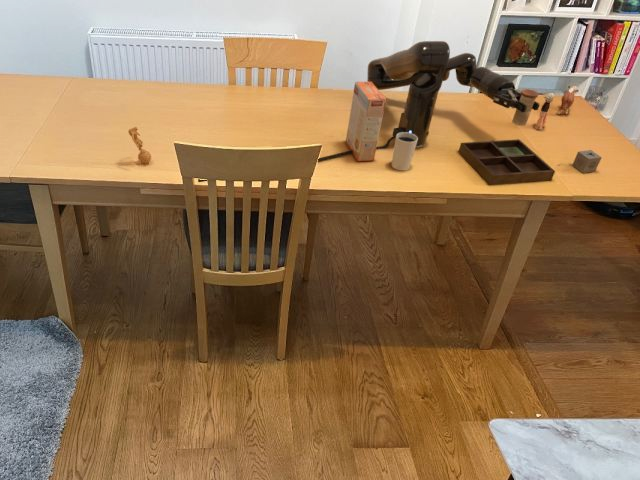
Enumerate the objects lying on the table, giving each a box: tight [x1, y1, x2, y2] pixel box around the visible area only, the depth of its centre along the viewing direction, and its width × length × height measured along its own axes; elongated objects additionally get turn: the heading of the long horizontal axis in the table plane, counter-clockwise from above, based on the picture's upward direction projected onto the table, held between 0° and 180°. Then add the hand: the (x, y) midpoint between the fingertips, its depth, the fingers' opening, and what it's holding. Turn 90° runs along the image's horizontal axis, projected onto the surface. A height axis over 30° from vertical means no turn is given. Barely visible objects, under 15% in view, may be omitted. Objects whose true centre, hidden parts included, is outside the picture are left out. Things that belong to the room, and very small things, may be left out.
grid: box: [458, 138, 556, 186], centre depth 188 cm, size 21×21×3 cm
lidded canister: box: [511, 89, 539, 127], centre depth 185 cm, size 5×5×10 cm
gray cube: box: [571, 149, 602, 174], centre depth 189 cm, size 5×5×5 cm
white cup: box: [391, 132, 418, 171], centre depth 183 cm, size 7×7×10 cm
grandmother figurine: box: [534, 92, 555, 131], centre depth 209 cm, size 8×4×13 cm, turn 168°
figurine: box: [128, 126, 152, 164], centre depth 178 cm, size 8×6×12 cm
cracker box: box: [345, 81, 387, 162], centre depth 186 cm, size 14×6×21 cm, turn 9°
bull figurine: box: [557, 85, 579, 115], centre depth 222 cm, size 4×13×8 cm, turn 148°
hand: (531, 108), depth 182 cm, fingers closed on lidded canister, 4 cm apart
